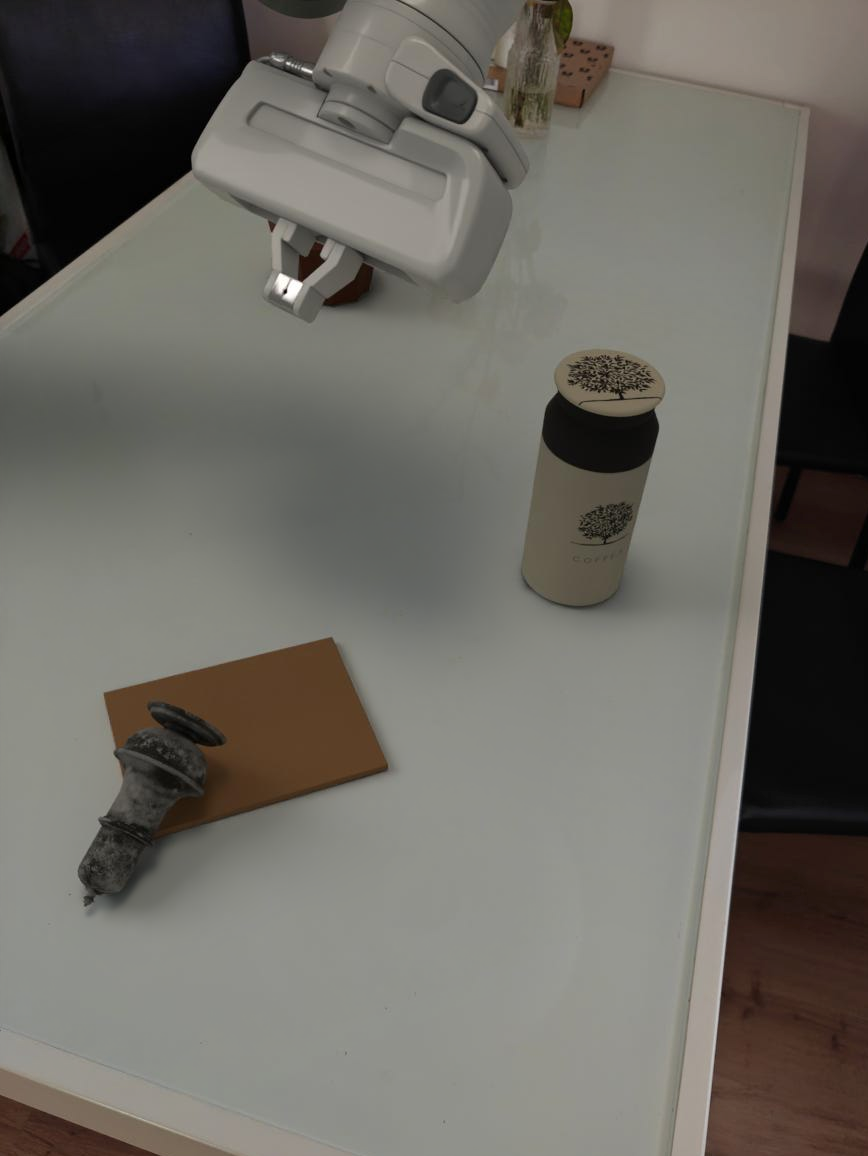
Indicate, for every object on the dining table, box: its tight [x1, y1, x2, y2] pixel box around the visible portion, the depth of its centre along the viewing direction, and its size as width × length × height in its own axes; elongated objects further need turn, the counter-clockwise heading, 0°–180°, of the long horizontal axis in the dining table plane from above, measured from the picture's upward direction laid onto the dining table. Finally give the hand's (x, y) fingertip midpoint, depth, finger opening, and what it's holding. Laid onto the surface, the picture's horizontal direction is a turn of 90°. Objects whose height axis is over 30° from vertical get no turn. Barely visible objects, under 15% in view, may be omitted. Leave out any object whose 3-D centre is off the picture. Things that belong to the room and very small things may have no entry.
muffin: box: [267, 220, 375, 307], centre depth 105 cm, size 12×11×10 cm
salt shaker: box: [77, 701, 227, 908], centre depth 61 cm, size 6×6×12 cm
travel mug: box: [520, 348, 666, 607], centre depth 75 cm, size 8×8×18 cm
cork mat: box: [103, 636, 389, 839], centre depth 68 cm, size 16×12×1 cm
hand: (286, 311), depth 61 cm, fingers closed
